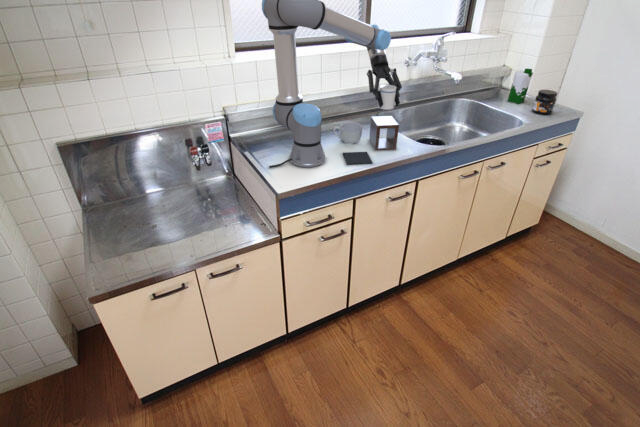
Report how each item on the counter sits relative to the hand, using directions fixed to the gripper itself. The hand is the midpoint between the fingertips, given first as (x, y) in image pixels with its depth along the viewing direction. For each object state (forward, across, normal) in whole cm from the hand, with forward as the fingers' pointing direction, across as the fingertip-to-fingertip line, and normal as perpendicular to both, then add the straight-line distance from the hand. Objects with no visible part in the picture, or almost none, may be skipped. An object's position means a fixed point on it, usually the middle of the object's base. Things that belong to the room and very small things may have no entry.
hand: (389, 105), depth 169 cm
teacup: (+6, +14, -23) cm, 28 cm away
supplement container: (-1, -110, -29) cm, 114 cm away
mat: (+20, +17, -9) cm, 28 cm away
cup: (-1, 0, -4) cm, 4 cm away
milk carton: (-17, -110, -44) cm, 120 cm away
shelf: (+12, 0, -17) cm, 21 cm away
